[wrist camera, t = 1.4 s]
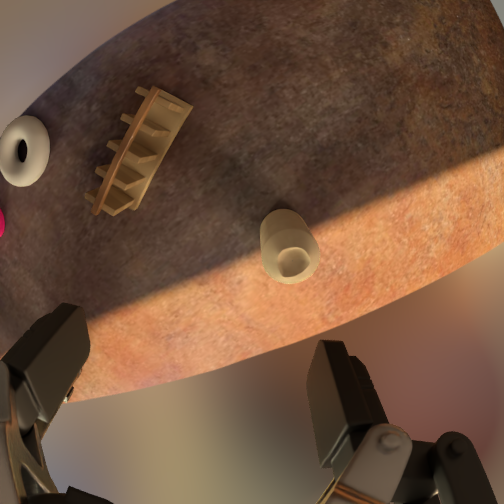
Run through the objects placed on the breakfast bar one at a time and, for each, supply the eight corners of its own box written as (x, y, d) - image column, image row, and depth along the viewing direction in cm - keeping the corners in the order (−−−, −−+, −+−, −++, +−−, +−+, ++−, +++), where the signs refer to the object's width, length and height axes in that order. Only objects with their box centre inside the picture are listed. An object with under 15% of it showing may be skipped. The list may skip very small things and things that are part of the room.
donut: (40, 101, 30) (0, 143, 31) (25, 99, 26) (-14, 145, 28) (65, 159, 33) (23, 197, 34) (51, 161, 30) (8, 202, 31)
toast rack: (137, 208, 35) (111, 225, 28) (105, 189, 34) (75, 202, 27) (193, 106, 31) (178, 98, 24) (158, 88, 30) (135, 76, 23)
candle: (284, 261, 38) (294, 301, 28) (250, 233, 36) (249, 267, 27) (315, 228, 36) (335, 259, 27) (280, 198, 35) (291, 220, 26)
